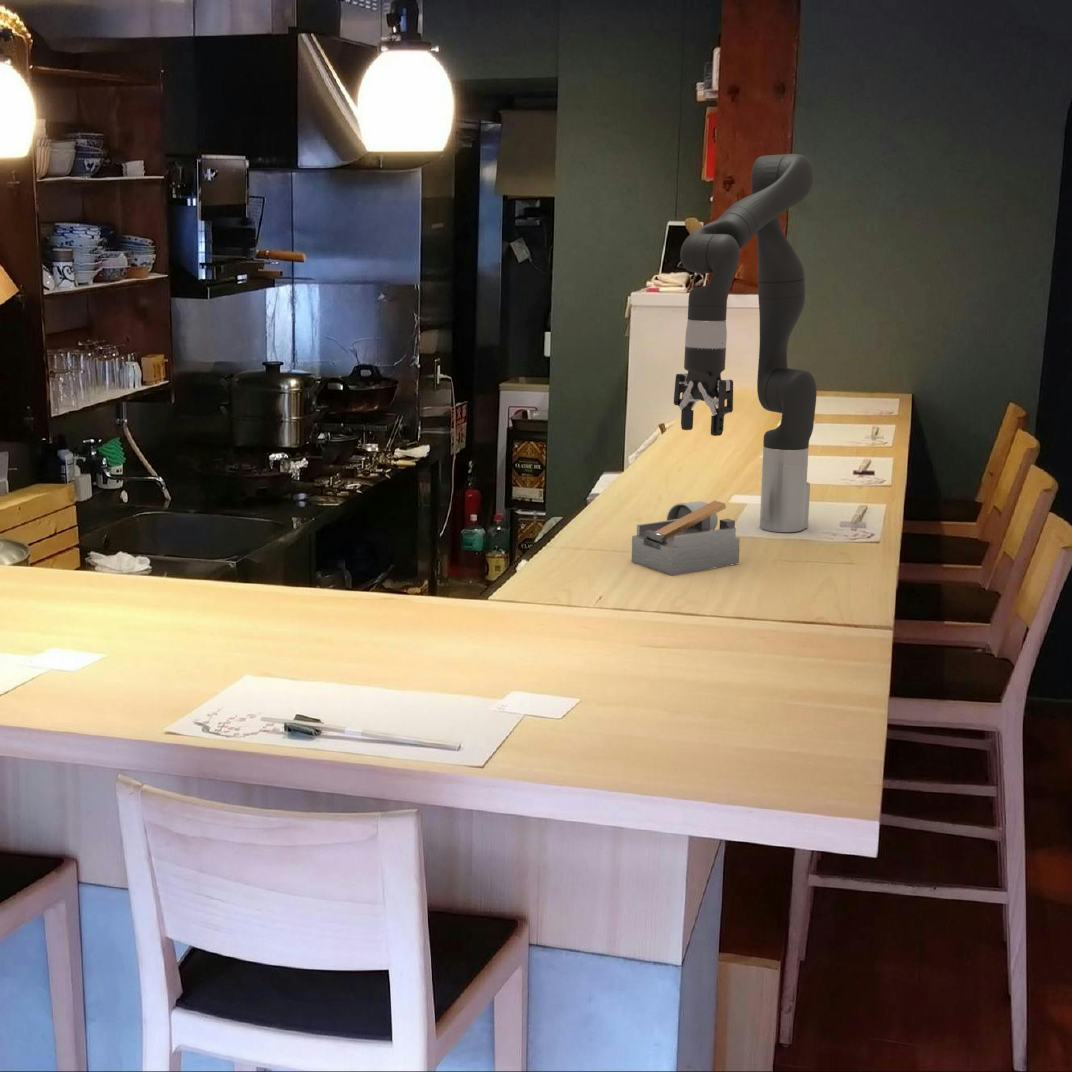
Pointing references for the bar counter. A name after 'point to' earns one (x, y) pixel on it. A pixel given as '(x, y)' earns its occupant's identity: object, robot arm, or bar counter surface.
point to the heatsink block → (687, 547)
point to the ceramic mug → (687, 508)
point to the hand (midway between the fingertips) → (701, 432)
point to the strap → (685, 522)
